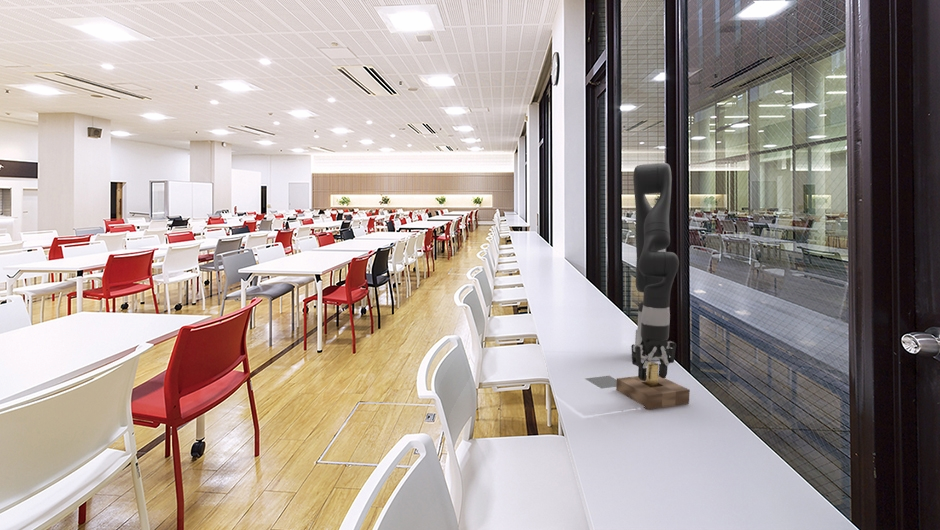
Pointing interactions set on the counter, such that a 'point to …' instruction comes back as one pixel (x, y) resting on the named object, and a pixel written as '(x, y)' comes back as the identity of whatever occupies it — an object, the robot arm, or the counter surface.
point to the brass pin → (652, 374)
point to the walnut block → (653, 392)
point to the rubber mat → (603, 381)
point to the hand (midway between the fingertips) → (652, 378)
